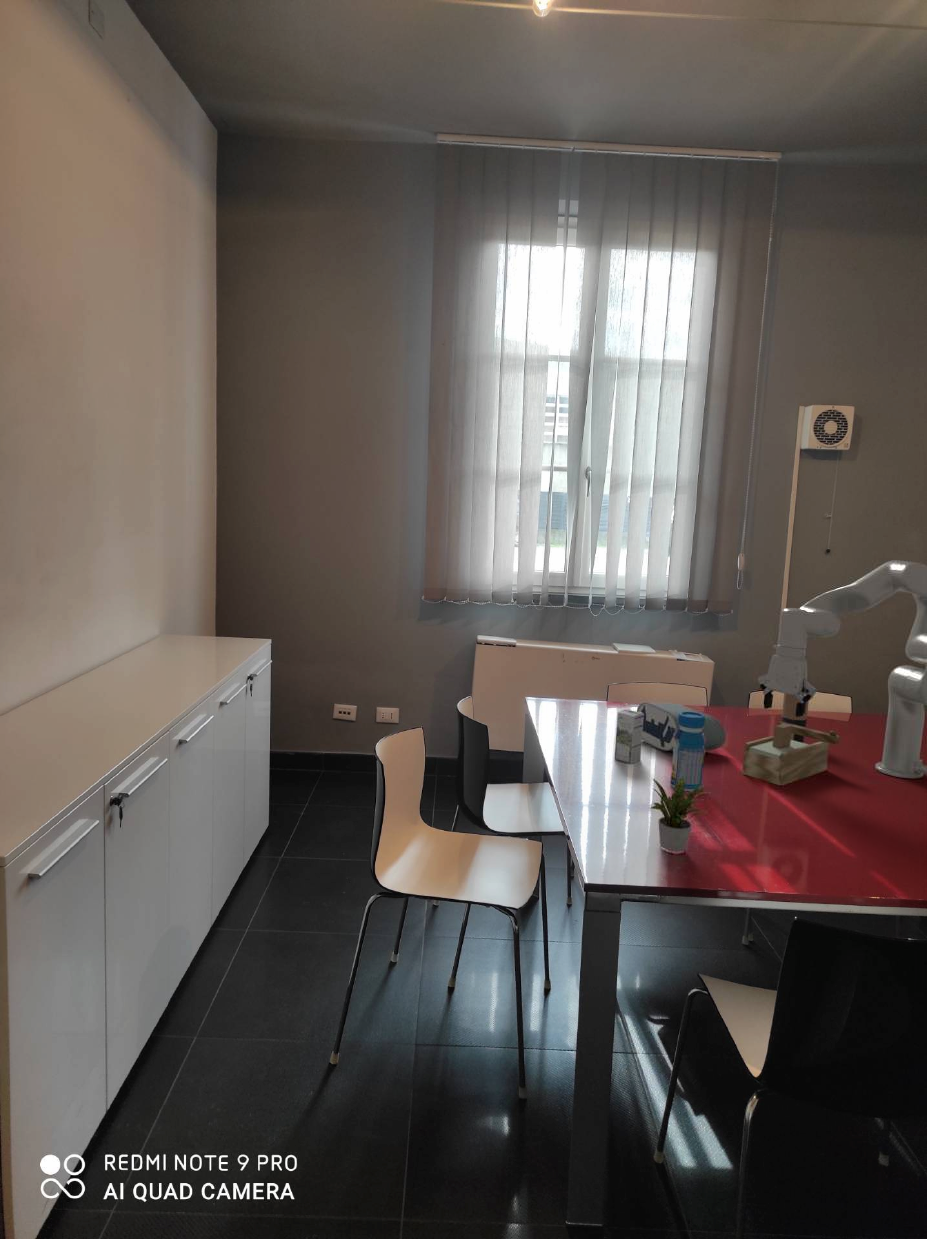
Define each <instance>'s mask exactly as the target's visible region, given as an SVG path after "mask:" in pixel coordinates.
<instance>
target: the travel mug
mask: <svg viewBox="0 0 927 1239" xmlns="http://www.w3.org/2000/svg"><path fill="white" fill-rule="evenodd" d="M808 693H809V690H808V689H807V688H806V691H805V695H808ZM809 701H810V700H809ZM809 701H808V702H806V706H805V713H804V714H803V716H800V717H796V716H795V714H796V706H797V703H798V702H799V700H798V699H797V697H796V695H790V694H785V693H783V701H782V709H781V710H782V711H781V719H780V722H786V723H790V724H793V725H797V726H801V727H805V728H807V720H808V712H809ZM793 740H794V741H797V742H801V743H805V742H804V741H805V736H801V735H798V734H794V739H793Z"/></svg>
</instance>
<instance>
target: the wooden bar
mask: <svg viewBox="0 0 927 1239" xmlns="http://www.w3.org/2000/svg"><path fill="white" fill-rule="evenodd" d="M780 724H788V725H792V733H794V734H798V735H801V736H804V738H805V737H806V738H809V739H814V740H818V741H824V742H828V743H829V744H832V745H837V744H840V741H841V740H840V739H841V736H840V735H837V731H835V730H830V731H829V732H824V731H821V730H817V729H813V728H809V727H806V728H805V727H801V726H797V725H793V724H790V723H786V722H781V721H780V722H777V725H780Z"/></svg>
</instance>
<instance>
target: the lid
mask: <svg viewBox="0 0 927 1239" xmlns="http://www.w3.org/2000/svg"><path fill="white" fill-rule="evenodd" d="M791 733H792V725H788V724H780V725H778V724H777V725H774V728H773V735H774V736H773V735H772V736H773V741H769V742H765V743H762V744H758V745H755V746H751V747H749V751H750V752H754V753H757V754H761V755H764V756H768V757H771V758H775V759H778V760H780V758H781V753H783V752H786V751H790V750H793V749H796V748H800V747H803V746H807V745H810V744H808V743H805V742H803V743H801V742H797V741H794V740H791Z"/></svg>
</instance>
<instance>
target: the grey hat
mask: <svg viewBox="0 0 927 1239" xmlns="http://www.w3.org/2000/svg"><path fill="white" fill-rule="evenodd" d="M636 712H641V713H644V719H643V731H642V741H643V742H645V743H647V744H648V745H650V746H652V747H654V748H656V749H658V750H661V751H664V752H670V751H671V752H673V744H674V743H675V740H674V736H675V734H676V732H677V730H678V729H679V728H680V726H679V724H678V719H679V714H680V713H681V712H696V713H700V714H703V715H704V716H705V724H704V728H703V729H701V730H702V731H703V733H704V735H705V739H706V743H705V744H704V747H705V752H706V751H707V752H708V751H714V750H717V749H719V748H721V747H723V745H724V744H725V743H726V739H727V734H726V730H725V728H724V726H723V724H722V723H721V722H720V721H719V720H718V719H716V718H715V717H714V716H711V715H710V714H707V713H704V712H701V711H699V710H695V709H692V708H689V707H688V706H684V705H682V704H681V703H674V702H673V703H671V702H642V703H640V704H639V705H638V707H637V709H636Z"/></svg>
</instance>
